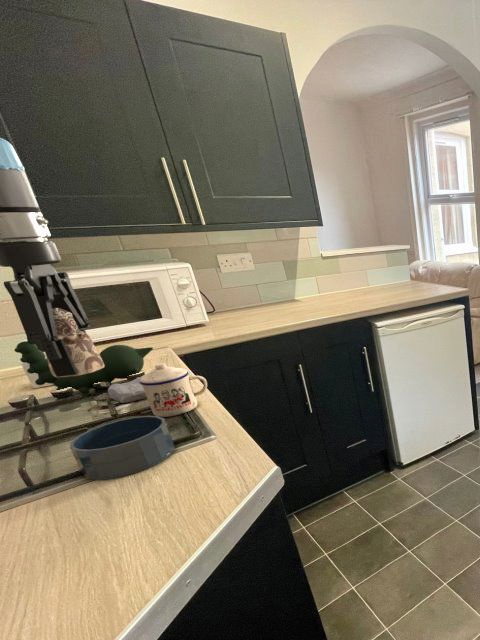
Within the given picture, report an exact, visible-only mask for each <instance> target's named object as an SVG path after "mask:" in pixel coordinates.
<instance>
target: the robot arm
mask: <svg viewBox="0 0 480 640" xmlns="http://www.w3.org/2000/svg"><path fill="white" fill-rule="evenodd" d="M48 225H49V220H48V219H47V218H45V217H44V216H43V213H42V211H41V209H40V206H39V203H38V201H37V199H36V196H35V194H34V191H33V189H32V186H31V184H30V181H29V179H28V176H27V174H26V171H25V166H24V165H23V164H22V162H21V160H20V158H19V155H18V154H17V152H16V150H15V148H14V146H13V145H12V144H11V143H10V142H9V141H8V140H6V139H4V138H2V137H0V267H4V268H11V269H12V273H13V278H14V279H13V280H8V281H7V280H6V281H4V282H3V286H4V288H5V290H6V291H7V293H8V294H9V296H10V297H11V300H12V302H13V305H14V307H15V310H16V313H17V315H18V318H19V321H20V323H21V326H22V328H23V331H24V333H25V335H26V339H27V338H28V340H29V341H31V342H32V343H38V342H40V343H41V344H42V347H43V349H44V351H45V353H46V355H47V357H48V359H49V361H50V364H51V366H52V368H53V370H54V372H55V374H56V376H57V377H60V376H68V375H76V374H78V372H77V369H76V367H75V365H74V363H73V360H72V358H71V356H70V354H69V352H68V349H67V347H66V345H65V343H64V340H63V339H58V334H57V329H56V325H55V320H54V315H53V311H52V308H60V309H63V310H66V311H67V312H70V313H72V317H73V319H74V321H75V322H76V324H77V326H78V329H79V330H80V331H83V332H85V333H86V334H87V332H86V329H90V328H91V323H90V322H89V319H88V316H87V314H86V312H85V310H84V308H83V306H82V303H81V301H80V299H79V298H78V296H77V294H76V292H75V290H74V287H73V286H72V284H71V280H70V277H69V274H68V273H67V271H60V272H59V271H57V270H56V269H55V267H54V266H53V265H54V264H60V263H61V262H62V257H61V255H60V253H59V250H58V248H57V246H56V243H55V242H53V241H52V240H48V238H50V237H51V236H52V235H51V232H50V230H49V227H48Z"/></svg>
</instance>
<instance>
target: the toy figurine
mask: <svg viewBox="0 0 480 640" xmlns="http://www.w3.org/2000/svg"><path fill="white" fill-rule="evenodd" d="M26 339H27V341H24V342H21V341H19V342H20V343H18V344H17V345H16V347H15V348H14V352H15V353H18V354H21V357H20V358H19V360H20V362H21V363H22V362H24V363H29V364H30V365H29V367H30V368H29V369H28V370H27V372H28V373H30V374H33V373H37V374H38V377H39V378H38V379H37V380H36V381H35V383H36V384H37V385H44V384H45V382H46V383H52V384H54V385H53V386H55V387H57V388H56V389H55V391H56V390H60V389H64V388H67V387H72V388H73V389H72V390H76V391H78V392H79V393H80V394H83V395H85V394H88V393H90V390H92V389H93V388H95V387H93V384H94V383H98V382H109V383H110V385H112V382H113V381H115V379H117V380H124V379H128V378H127V376H129V375H132V374H136V373H139V372H140V373H141V371H142V370H143V369H144V364H145V359H144V358H145V357H146V356H147V355H149V354H150V353H151V352H152V351H153V350H154V348H153V347H151V346H150V347H141V348H135V347H132V346H130V345H127V344H126V345H125V344H113V345H110V346H107V347H106V348H104V349H103V350H101V351H100V352H99V355H100V356H101V358H102V361H103V363H104V368H102V369H99V370H97V371H94V372H91V373H87V374H83V375H78V376H69V377H54V376H53V375H52V373H51V371H50V369H49V365H48V361H47V359H46V358H45V357H46V356H45V354H44V353H43V352H42V351H40V350H38V348H37V345H36V344H35V343H32V342H31V341H29V340H28V338H27V337H26ZM129 382H131V381H129ZM109 387H110V386H109ZM109 387H105V388H102V389H104V390H105V389H109Z"/></svg>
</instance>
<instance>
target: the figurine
mask: <svg viewBox="0 0 480 640" xmlns="http://www.w3.org/2000/svg"><path fill="white" fill-rule="evenodd" d="M52 311H53V315H54V320H55V325H56V329H57V334H58V339H63V340H64V343H65V345H66V347H67V349H68V352H69V354H70V356H71V358H72V360H73V363H74V365H75V367H76V369H77V372H78V374H76V375H68V376H60V377H69V376H78V375H83V374H87V373H91V372H94V371H97V370H99V369H102V368H104V363H103V361H102V358H101V356H100V355H99V354H100V352H99V351H98V349H97V348H96V346H95V343H94V341H93V340H92V338H91V336H90V335H89V334H88V333H87V332H86V333H85V332H83V331H80V330H79V329H78V326H77V324H76V322H75V321H74V319H73V317H72V313H70V312H67V311H66V310H63V309H60V308H52ZM45 354H46V353H45ZM46 358H47V361H48V365H49V369H50V371H51V373H52V375H53V376H54V377H57V376H56V374H55V372H54V370H53V368H52V366H51V364H50V361H49V359H48V357H47V355H46Z"/></svg>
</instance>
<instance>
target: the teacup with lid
mask: <svg viewBox="0 0 480 640" xmlns="http://www.w3.org/2000/svg"><path fill="white" fill-rule="evenodd" d="M145 374H146V375H145ZM145 374H143V375H144V376H143V375H142V377H141V378H140V384H142V386H143V389H144V391H145V394H146V397H147V398H146V399H147V402H148V404H149V407H150V409H151V411H152V414H153V416H159V417H161V418H169V417H175V416H178V415H183V414H185V413H188V412H190V411H192V410H194V409H195V408H196V407H197V406H198V401H197V398H196V397H198V396H201V395H203V394H204V393H205V392H206V390H207V388H208V381H207V379H206V377H203V376H201V375H192V376H189V372H188V371H187V369H186V368H183V367H173V366H167V364H166V363H163V362H162V363H157V364H155V365H154V369H152V370H150V371H149V372H148V373H145ZM193 380H199V381H202V382H203V386H202V388H201V390H199V391H197V392H194V389H193V386H192V384H191V381H193Z"/></svg>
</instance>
